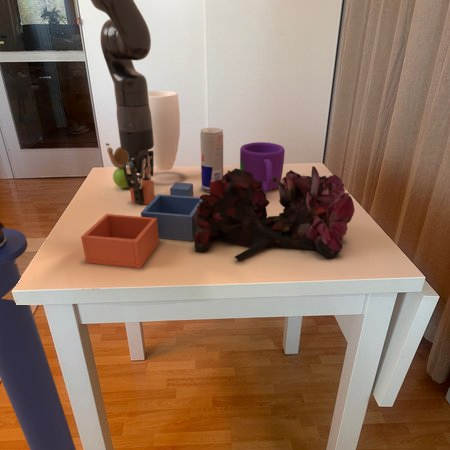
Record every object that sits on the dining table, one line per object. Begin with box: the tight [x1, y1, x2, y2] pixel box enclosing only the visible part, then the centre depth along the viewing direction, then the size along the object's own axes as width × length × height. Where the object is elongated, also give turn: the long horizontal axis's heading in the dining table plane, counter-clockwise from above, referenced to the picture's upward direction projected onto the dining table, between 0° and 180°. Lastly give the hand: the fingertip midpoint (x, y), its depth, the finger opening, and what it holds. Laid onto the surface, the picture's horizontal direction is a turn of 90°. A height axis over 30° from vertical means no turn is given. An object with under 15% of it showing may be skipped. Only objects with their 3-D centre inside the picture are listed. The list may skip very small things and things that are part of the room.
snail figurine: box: [105, 142, 129, 189], centre depth 107 cm, size 5×6×12 cm
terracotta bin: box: [80, 213, 160, 269], centre depth 80 cm, size 11×11×5 cm
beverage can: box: [199, 127, 224, 193], centre depth 106 cm, size 6×6×15 cm
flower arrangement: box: [194, 165, 356, 262], centre depth 82 cm, size 31×20×15 cm, turn 91°
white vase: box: [148, 90, 181, 171], centre depth 111 cm, size 10×10×22 cm
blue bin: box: [140, 193, 203, 242], centre depth 89 cm, size 11×11×5 cm
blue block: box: [169, 181, 194, 197], centre depth 101 cm, size 4×4×4 cm
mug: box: [239, 141, 286, 193], centre depth 107 cm, size 17×11×10 cm, turn 6°
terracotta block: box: [129, 179, 156, 205], centre depth 102 cm, size 4×4×4 cm
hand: (143, 199), depth 103 cm, fingers closed on terracotta block, 4 cm apart
